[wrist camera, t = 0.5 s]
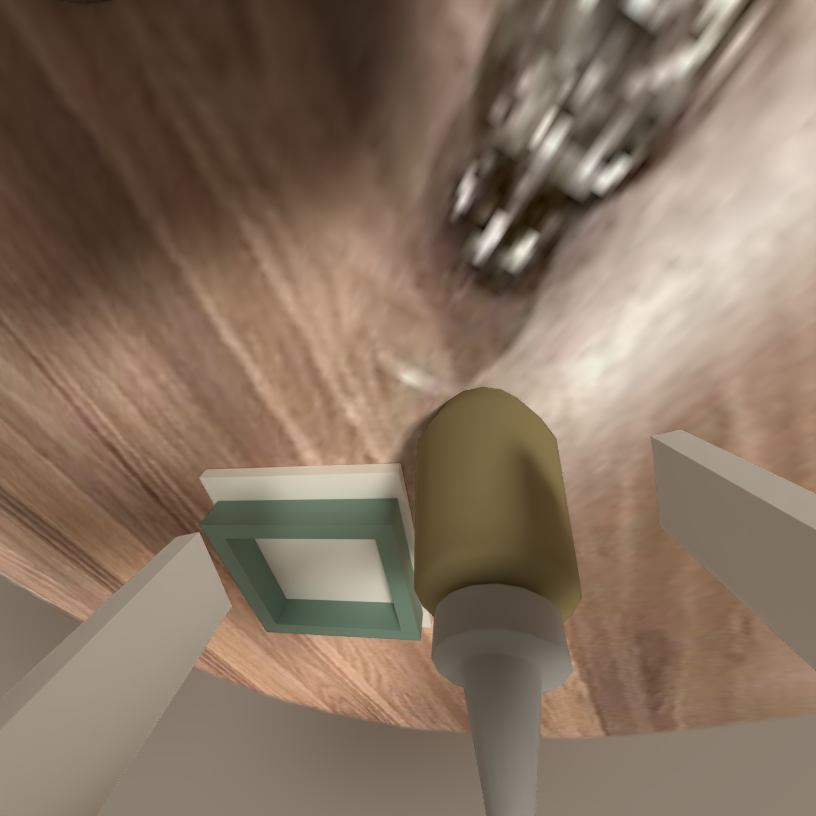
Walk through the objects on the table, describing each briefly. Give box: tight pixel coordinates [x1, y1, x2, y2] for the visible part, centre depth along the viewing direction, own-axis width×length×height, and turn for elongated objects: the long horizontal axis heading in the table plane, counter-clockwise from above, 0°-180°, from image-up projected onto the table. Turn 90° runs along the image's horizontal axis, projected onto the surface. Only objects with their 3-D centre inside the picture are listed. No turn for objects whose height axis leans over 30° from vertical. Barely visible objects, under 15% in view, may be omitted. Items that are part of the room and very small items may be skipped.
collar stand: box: [199, 463, 432, 641], centre depth 32 cm, size 20×16×4 cm
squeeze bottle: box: [414, 387, 582, 816], centre depth 17 cm, size 8×8×18 cm
